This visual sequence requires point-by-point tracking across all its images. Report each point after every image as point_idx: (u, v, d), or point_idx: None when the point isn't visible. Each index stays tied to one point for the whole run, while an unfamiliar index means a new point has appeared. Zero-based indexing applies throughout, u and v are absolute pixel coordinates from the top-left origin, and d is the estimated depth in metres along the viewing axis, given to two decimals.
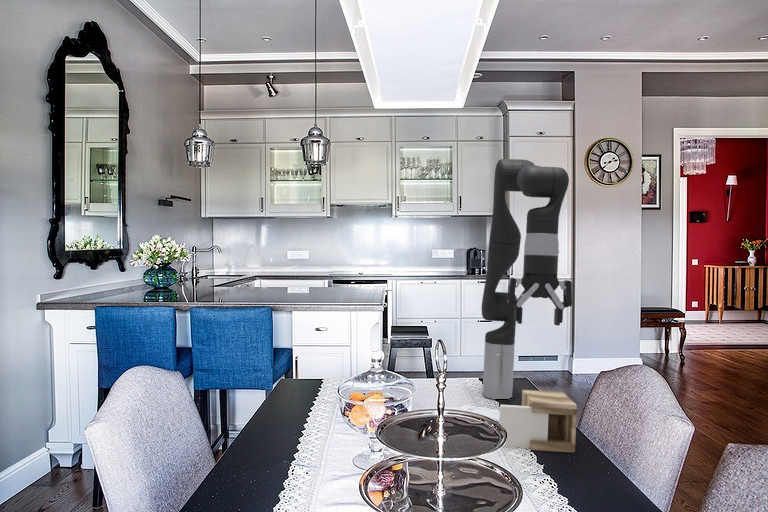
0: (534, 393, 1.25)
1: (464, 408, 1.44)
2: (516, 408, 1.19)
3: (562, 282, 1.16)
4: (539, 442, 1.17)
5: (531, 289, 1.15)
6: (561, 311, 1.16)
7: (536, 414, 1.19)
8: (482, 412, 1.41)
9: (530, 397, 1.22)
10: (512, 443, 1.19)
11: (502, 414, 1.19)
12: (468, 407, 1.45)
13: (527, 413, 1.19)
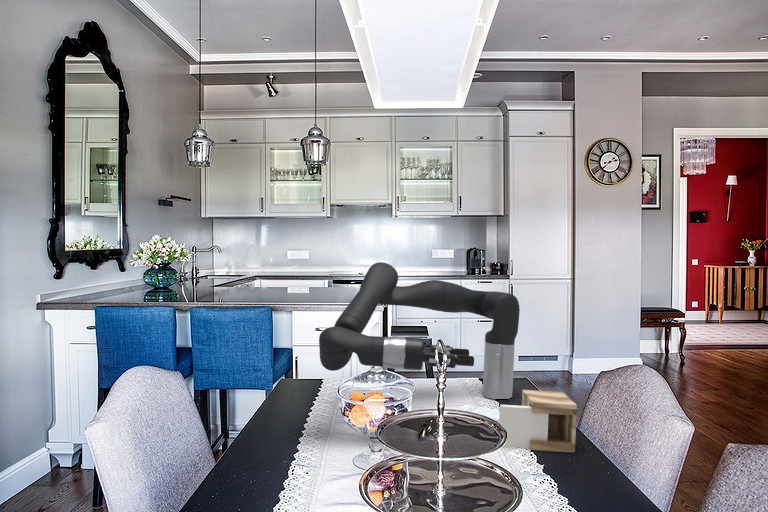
0: (534, 393, 1.25)
1: (464, 408, 1.44)
2: (516, 408, 1.19)
3: None
4: (539, 442, 1.17)
5: (438, 349, 1.18)
6: None
7: (536, 414, 1.18)
8: (483, 411, 1.41)
9: (530, 397, 1.22)
10: (512, 443, 1.19)
11: (502, 414, 1.19)
12: (468, 407, 1.45)
13: (527, 413, 1.19)
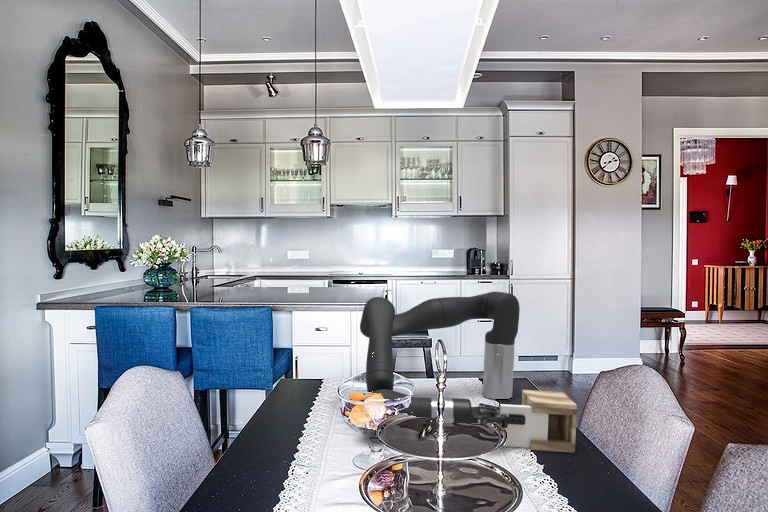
0: (534, 393, 1.25)
1: None
2: (516, 407, 1.19)
3: None
4: (539, 442, 1.17)
5: (487, 411, 1.18)
6: None
7: (536, 413, 1.19)
8: None
9: (530, 397, 1.22)
10: (512, 443, 1.19)
11: None
12: None
13: (527, 412, 1.19)
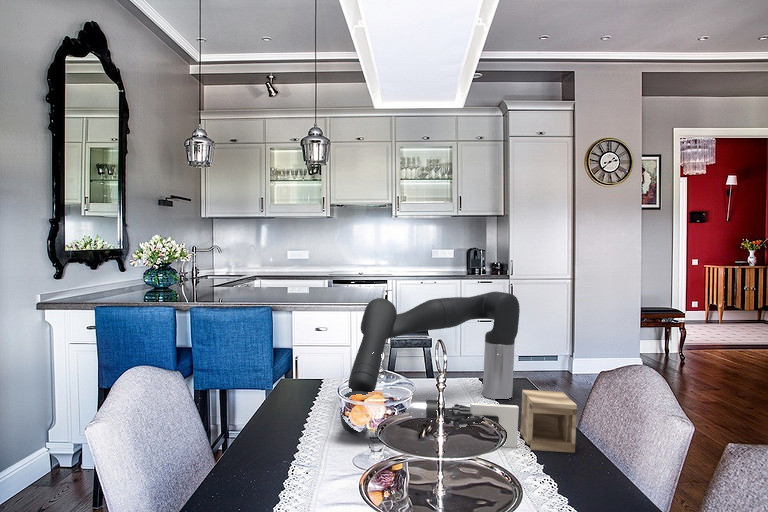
0: (534, 393, 1.25)
1: None
2: (486, 406, 1.19)
3: None
4: (539, 442, 1.17)
5: (461, 412, 1.18)
6: None
7: (506, 412, 1.18)
8: None
9: (530, 397, 1.22)
10: None
11: (472, 412, 1.19)
12: None
13: (497, 411, 1.18)
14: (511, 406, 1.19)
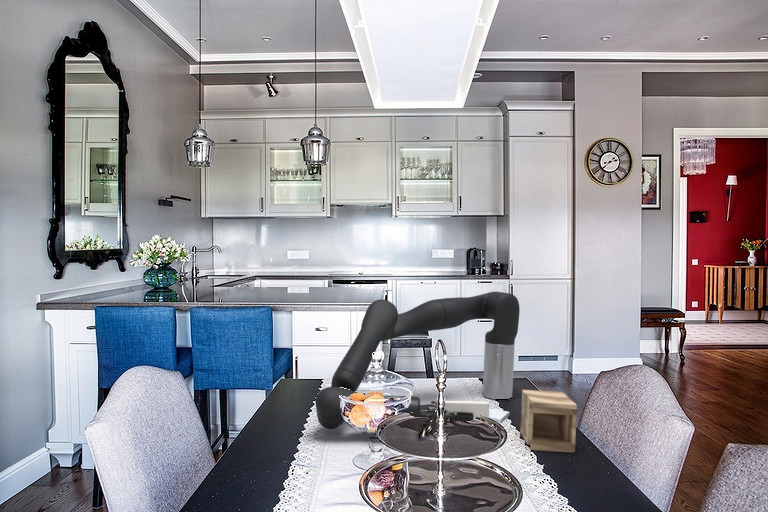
0: (534, 393, 1.25)
1: None
2: (457, 404, 1.19)
3: None
4: (539, 442, 1.17)
5: (436, 408, 1.19)
6: None
7: (477, 409, 1.19)
8: None
9: (530, 397, 1.22)
10: None
11: None
12: None
13: (468, 408, 1.19)
14: (482, 402, 1.20)
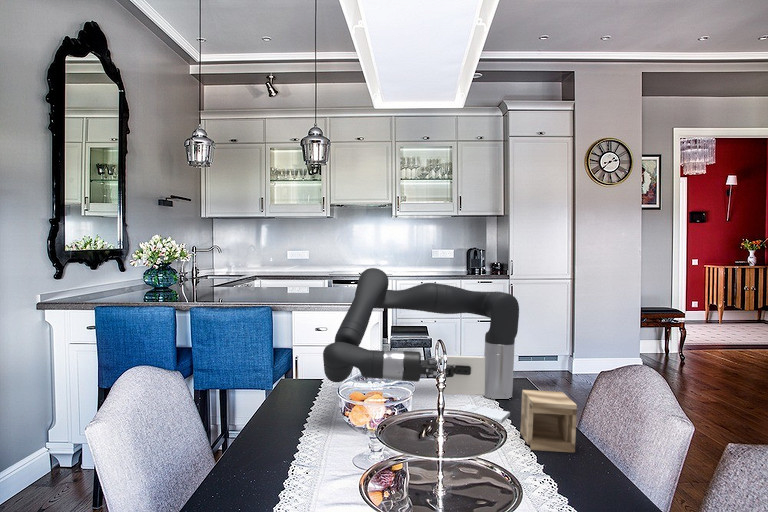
0: (534, 393, 1.25)
1: (467, 407, 1.45)
2: (455, 358, 1.27)
3: None
4: (539, 442, 1.17)
5: None
6: None
7: (473, 363, 1.27)
8: (485, 411, 1.42)
9: (530, 397, 1.22)
10: (452, 391, 1.27)
11: None
12: (471, 407, 1.46)
13: (465, 362, 1.27)
14: (478, 357, 1.28)
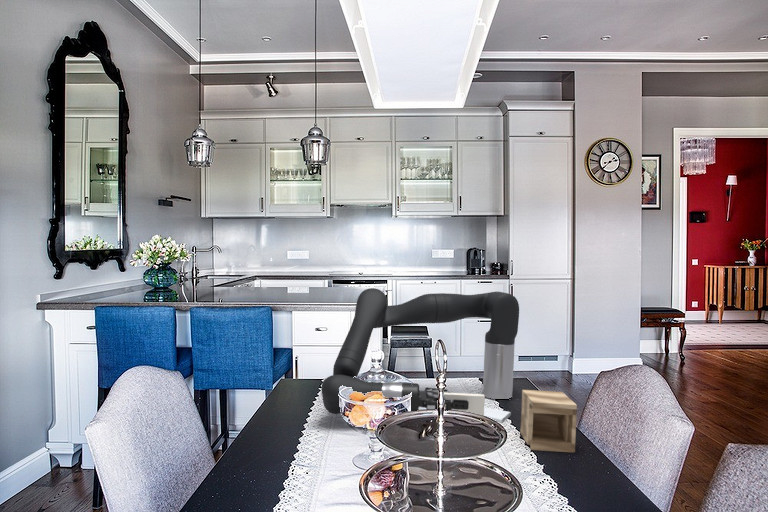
0: (534, 393, 1.25)
1: None
2: (454, 395, 1.27)
3: None
4: (539, 442, 1.17)
5: (433, 394, 1.27)
6: None
7: (473, 401, 1.27)
8: (486, 411, 1.42)
9: (530, 397, 1.22)
10: None
11: None
12: None
13: None
14: (478, 395, 1.28)
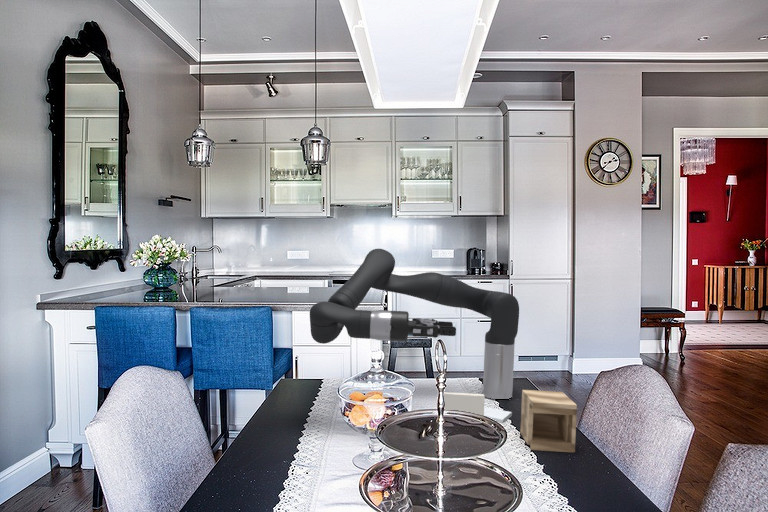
0: (534, 393, 1.25)
1: None
2: (454, 395, 1.28)
3: None
4: (539, 442, 1.17)
5: (422, 321, 1.24)
6: None
7: (473, 401, 1.27)
8: (487, 411, 1.42)
9: (530, 397, 1.22)
10: None
11: None
12: None
13: (464, 400, 1.27)
14: (478, 395, 1.28)
